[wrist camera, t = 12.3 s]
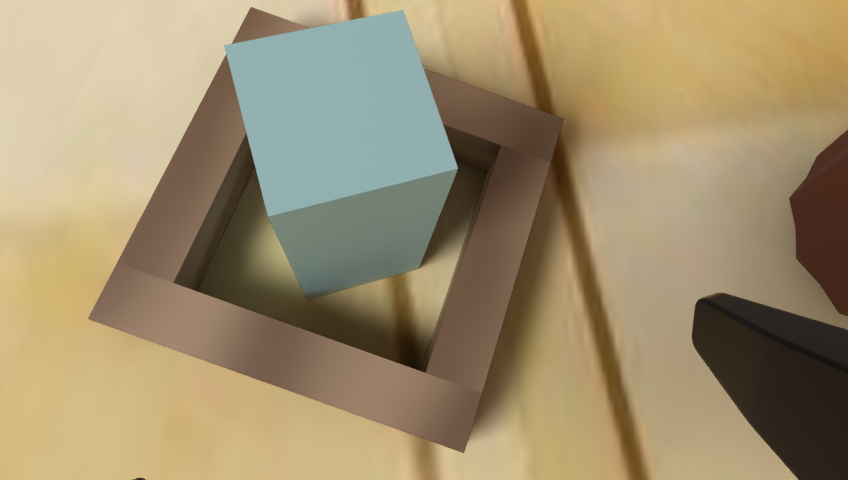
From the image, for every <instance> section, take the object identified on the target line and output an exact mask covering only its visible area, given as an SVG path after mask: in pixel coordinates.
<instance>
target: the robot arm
mask: <svg viewBox="0 0 848 480" xmlns="http://www.w3.org/2000/svg"><path fill="white" fill-rule="evenodd" d="M692 341H693V344H694V347H695V349H696V351H697V352H698V354H699V355H700V356H701V358H702V359H703V360H704V362H705V363H706V365H707V366H708V367H709V369H710V370H711V372H712V373H713V374H714V376H715V377H716V378H717V380H718V381H719V383H720V384H721V385H722V387H723V388H724V390H725V391H726V392H727V394H728V395H729V396H730V398H731V399H732V401H733V402H734V403H735V405H736V406H737V408H738V409H739V410H740V412H741V413H742V414H743V416H744V417H745V418H746V419H747V421H748V422H749V423H750V425H751V426H752V427H753V428H754V429H755V431H756V432H757V433H758V434H759V435H760V436H761V438H762V439H763V440H764V441H765V442H766V443H767V444H768V446H769V447H770V448H771V449H772V450H773V451H774V452H775V453H776V455H777V456H778V457H779V458H780V459H781V460H782V461H783V463H784V464H785V465H786V466H787V467H788V468H789V469H790V470H791V472H792V473H793V474H794V475H795V476H796V477H797V478H798V480H848V330H847V329H843V328H840V327H836V326H833V325H830V324H826V323H823V322H820V321H816V320H813V319H810V318H806V317H803V316H800V315H796V314H793V313H789V312H786V311H783V310H779V309H776V308H773V307H769V306H766V305H763V304H759V303H756V302H752V301H749V300H746V299H742V298H739V297H736V296H732V295H729V294H726V293H716V294H712V295H709V296H706V297H703V298H700V299H699V300H698V301H697V303H696V305H695V312H694V321H693V330H692ZM133 480H145V479H144V478H136V479H133Z"/></svg>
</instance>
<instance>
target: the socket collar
mask: <svg viewBox="0 0 848 480" xmlns="http://www.w3.org/2000/svg"><path fill="white" fill-rule="evenodd" d="M305 29H310V28H308V27H305V26H303V25H300V24H297V23H294V22H291V21H289V20H286V19H283V18H280V17H277V16H275V15H272V14H269V13H266V12H263V11H261V10H258V9H255V8H252V7H251V8H250V10H249V12H248V14H247V15H246V17H245V19H244V21H243V23H242V25H241V27H240V29H239V31H238V33H237V35H236V37H235V38H234V40H233V42H232V44H234V43H239V42H244V41H249V40H254V39H259V38H264V37H269V36H274V35H279V34H285V33H290V32H295V31H300V30H305ZM424 71H425V74H426V77H427V80H428V83H429V86H430V89H431V92H432V94H433V97H434V100H435V103H436V106H437V109H438V112H439V115H440V118H441V120H442V123H443V126H444V129H445V132H446V135H447V138H448V141H449V143H450V146H451V149H452V152H453V155H454V158H455V159H456V160H459V161H462V162H465V163H467V164H470V165H473V166H476V167H479V168H481V169H484V170H487V171H488V172H487V175H486V178H485V181H484V184H483V187H482V190H481V193H480V196H479V199H478V202H477V205H476V208H475V211H474V214H473V217H472V220H471V223H470V226H469V229H468V232H467V235H466V238H465V241H464V244H463V247H462V250H461V253H460V256H459V259H458V262H457V265H456V268H455V271H454V274H453V277H452V280H451V283H450V286H449V289H448V292H447V295H446V298H445V301H444V304H443V307H442V310H441V313H440V316H439V319H438V322H437V325H436V328H435V331H434V334H433V337H432V340H431V343H430V346H429V349H428V352H427V355H426V358H425V361H424V364H423V367H422V370H421V371H419V370H416V369H413V368H410V367H407V366H405V365H402V364H399V363H396V362H393V361H391V360H388V359H385V358H382V357H379V356H377V355H374V354H371V353H368V352H365V351H363V350H360V349H357V348H354V347H351V346H349V345H346V344H343V343H340V342H337V341H335V340H332V339H329V338H326V337H323V336H321V335H318V334H315V333H312V332H309V331H306V330H304V329H301V328H298V327H295V326H292V325H290V324H287V323H284V322H281V321H278V320H276V319H273V318H270V317H267V316H264V315H262V314H259V313H256V312H253V311H250V310H248V309H245V308H242V307H239V306H236V305H234V304H231V303H228V302H225V301H222V300H220V299H217V298H214V297H211V296H208V295H206V294H203V293H200V292H197V289H198V286H199V284H200V282H201V280H202V278H203V276H204V274H205V272H206V269H207V267H208V265H209V263H210V261H211V259H212V257H213V255H214V252H215V250H216V248H217V246H218V244H219V242H220V240H221V238H222V235H223V233H224V231H225V229H226V227H227V225H228V223H229V221H230V219H231V216H232V214H233V212H234V210H235V208H236V206H237V204H238V202H239V199H240V197H241V195H242V193H243V191H244V189H245V187H246V185H247V182H248V180H249V178H250V176H251V174H252V172H253V170H254V168H255V164H254V160H253V156H252V152H251V148H250V144H249V141H248V137H247V133H246V129H245V125H244V121H243V117H242V113H241V109H240V105H239V101H238V97H237V93H236V89H235V86H234V82H233V78H232V74H231V70H230V66H229V62H228V58H227V54H226V56H225V58H224V59H223V61H222V63H221V65H220V67H219V69H218V71H217V73H216V75H215V77H214V79H213V81H212V82H211V84H210V86H209V88H208V90H207V92H206V94H205V96H204V98H203V100H202V102H201V103H200V105H199V107H198V109H197V111H196V113H195V115H194V117H193V119H192V121H191V123H190V125H189V126H188V128H187V130H186V132H185V134H184V136H183V138H182V140H181V142H180V144H179V146H178V147H177V149H176V151H175V153H174V155H173V157H172V159H171V161H170V163H169V165H168V167H167V169H166V170H165V172H164V174H163V176H162V178H161V180H160V182H159V184H158V186H157V188H156V190H155V191H154V193H153V195H152V197H151V199H150V201H149V203H148V205H147V207H146V209H145V211H144V213H143V214H142V216H141V218H140V220H139V222H138V224H137V226H136V228H135V230H134V232H133V234H132V235H131V237H130V239H129V241H128V243H127V245H126V247H125V249H124V251H123V253H122V255H121V257H120V258H119V260H118V262H117V264H116V266H115V268H114V270H113V272H112V274H111V276H110V278H109V279H108V281H107V283H106V285H105V287H104V289H103V291H102V293H101V295H100V297H99V299H98V301H97V302H96V304H95V306H94V308H93V310H92V312H91V314H90V316H89V318H88V319H90V320H92V321H95V322H98V323H101V324H104V325H106V326H109V327H112V328H115V329H118V330H120V331H123V332H126V333H129V334H132V335H135V336H137V337H140V338H143V339H146V340H149V341H151V342H154V343H157V344H160V345H163V346H165V347H168V348H171V349H174V350H177V351H179V352H182V353H185V354H188V355H191V356H193V357H196V358H199V359H202V360H205V361H207V362H210V363H213V364H216V365H219V366H221V367H224V368H227V369H230V370H233V371H235V372H238V373H241V374H244V375H247V376H249V377H252V378H255V379H258V380H261V381H263V382H266V383H269V384H272V385H275V386H277V387H280V388H283V389H286V390H289V391H291V392H294V393H297V394H300V395H303V396H306V397H308V398H311V399H314V400H317V401H320V402H322V403H325V404H328V405H331V406H334V407H336V408H339V409H342V410H345V411H348V412H350V413H353V414H356V415H359V416H362V417H364V418H367V419H370V420H373V421H376V422H378V423H381V424H384V425H387V426H390V427H392V428H395V429H398V430H401V431H404V432H406V433H409V434H412V435H415V436H418V437H420V438H423V439H426V440H429V441H432V442H434V443H437V444H440V445H443V446H446V447H448V448H451V449H454V450H457V451H460V452H462V453H464V451H465V448H466V445H467V441H468V438H469V435H470V431H471V428H472V425H473V421H474V418H475V415H476V411H477V408H478V405H479V401H480V398H481V394H482V391H483V388H484V384H485V381H486V378H487V374H488V371H489V368H490V364H491V361H492V358H493V354H494V351H495V348H496V344H497V341H498V338H499V334H500V331H501V327H502V324H503V321H504V317H505V314H506V311H507V307H508V304H509V301H510V297H511V294H512V291H513V287H514V284H515V281H516V277H517V274H518V270H519V267H520V264H521V260H522V257H523V254H524V250H525V247H526V244H527V240H528V237H529V234H530V230H531V227H532V224H533V220H534V217H535V214H536V210H537V207H538V203H539V200H540V197H541V193H542V190H543V187H544V183H545V180H546V177H547V173H548V170H549V167H550V163H551V160H552V157H553V153H554V150H555V146H556V143H557V140H558V136H559V133H560V130H561V126H562V123H563V120H564V119H563V118H560V117H558V116H555V115H552V114H549V113H546V112H544V111H541V110H538V109H535V108H532V107H530V106H527V105H524V104H521V103H518V102H516V101H513V100H510V99H507V98H504V97H502V96H499V95H496V94H493V93H490V92H488V91H485V90H482V89H479V88H476V87H474V86H471V85H468V84H465V83H462V82H460V81H457V80H454V79H451V78H448V77H446V76H443V75H440V74H437V73H434V72H432V71H429V70H426V69H424Z"/></svg>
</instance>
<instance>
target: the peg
mask: <svg viewBox="0 0 848 480" xmlns="http://www.w3.org/2000/svg"><path fill="white" fill-rule="evenodd" d="M224 46H225V50H226V54H227V58H228V62H229V66H230V70H231V74H232V78H233V82H234V86H235V89H236V93H237V97H238V101H239V105H240V109H241V113H242V117H243V121H244V125H245V129H246V133H247V137H248V141H249V144H250V148H251V152H252V156H253V160H254V164H255V168H256V172H257V176H258V180H259V184H260V188H261V192H262V195H263V199H264V203H265V207H266V211H267V215H268V218H269V220H270V222H271V224H272V226H273V229H274V231H275V233H276V235H277V237H278V239H279V241H280V243H281V246H282V248H283V250H284V252H285V254H286V256H287V258H288V260H289V263H290V265H291V267H292V269H293V271H294V273H295V275H296V277H297V280H298V282H299V284H300V286H301V288H302V290H303V292H304V294H305V297H306V299H307V300H309V299H312V298H316V297H319V296H323V295H327V294H330V293H334V292H337V291H341V290H344V289H348V288H351V287H355V286H359V285H362V284H366V283H369V282H373V281H376V280H380V279H383V278H387V277H391V276H394V275H398V274H401V273H405V272H408V271H412V270H416V269H419V267H420V264H421V262H422V259H423V257H424V254H425V252H426V249H427V246H428V244H429V241H430V239H431V236H432V234H433V231H434V229H435V226H436V224H437V221H438V219H439V216H440V213H441V211H442V208H443V206H444V203H445V201H446V198H447V196H448V193H449V191H450V188H451V186H452V183H453V180H454V178H455V175H456V173H457V170H458V167H457V164H456V161H455V158H454V155H453V152H452V149H451V146H450V143H449V141H448V138H447V135H446V132H445V129H444V126H443V123H442V120H441V118H440V115H439V112H438V109H437V106H436V103H435V100H434V97H433V94H432V92H431V89H430V86H429V83H428V80H427V77H426V74H425V71H424V69H423V66H422V63H421V60H420V57H419V54H418V51H417V48H416V46H415V43H414V40H413V37H412V34H411V31H410V28H409V25H408V22H407V20H406V17H405V14H404V11H403V10H400V11H395V12H390V13H385V14H380V15H375V16H370V17H365V18H360V19H355V20H350V21H345V22H340V23H335V24H330V25H325V26H320V27H315V28H310V29H305V30H300V31H295V32H290V33H285V34H279V35H274V36H269V37H264V38H259V39H254V40H249V41H244V42H239V43H234V44H229V45H224Z"/></svg>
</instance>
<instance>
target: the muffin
mask: <svg viewBox="0 0 848 480" xmlns="http://www.w3.org/2000/svg"><path fill="white" fill-rule="evenodd" d="M789 199H790V204H791V209H792V213H793V218H794V223H795V227H796V257H797V260H798V261H799V262H800V263H801V264H802V265H803V266H804V267H805V268H806V270H807V271H808V272H809V273H810V274H811V275H812V276H813V277H814V278H815V279H816V281H817V282H818V283H819V284H820V285H821V287H822V288H823V290H824V291H825V293H826V294H827V296H828V297H829V299H830V300H831V302H832V303H833V305H834V306H835V308H836V309H837V311H838V312H839V314H843V315H846V316H848V130H847V131H846V132H845V133H844V134H842V135H841V136H840V137H839V138H838V139H837V140H835V141H834V142H833V143H832V144H831V145H830V146H828V147H827V148H826V149H825V150H824V151H823V152H821V153H820V154H819V155H818V156H817V158H816V160H815V162H814V164H813V166H812V168H811V170H810V172H809V174H808V176H807V178H806V179H805V180H804V182H803V183H802V184H801V185H800V186H799V187H798V189H797V190H796V191H795V192H794V193H793V194H792V196H791V197H790V198H789Z"/></svg>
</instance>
